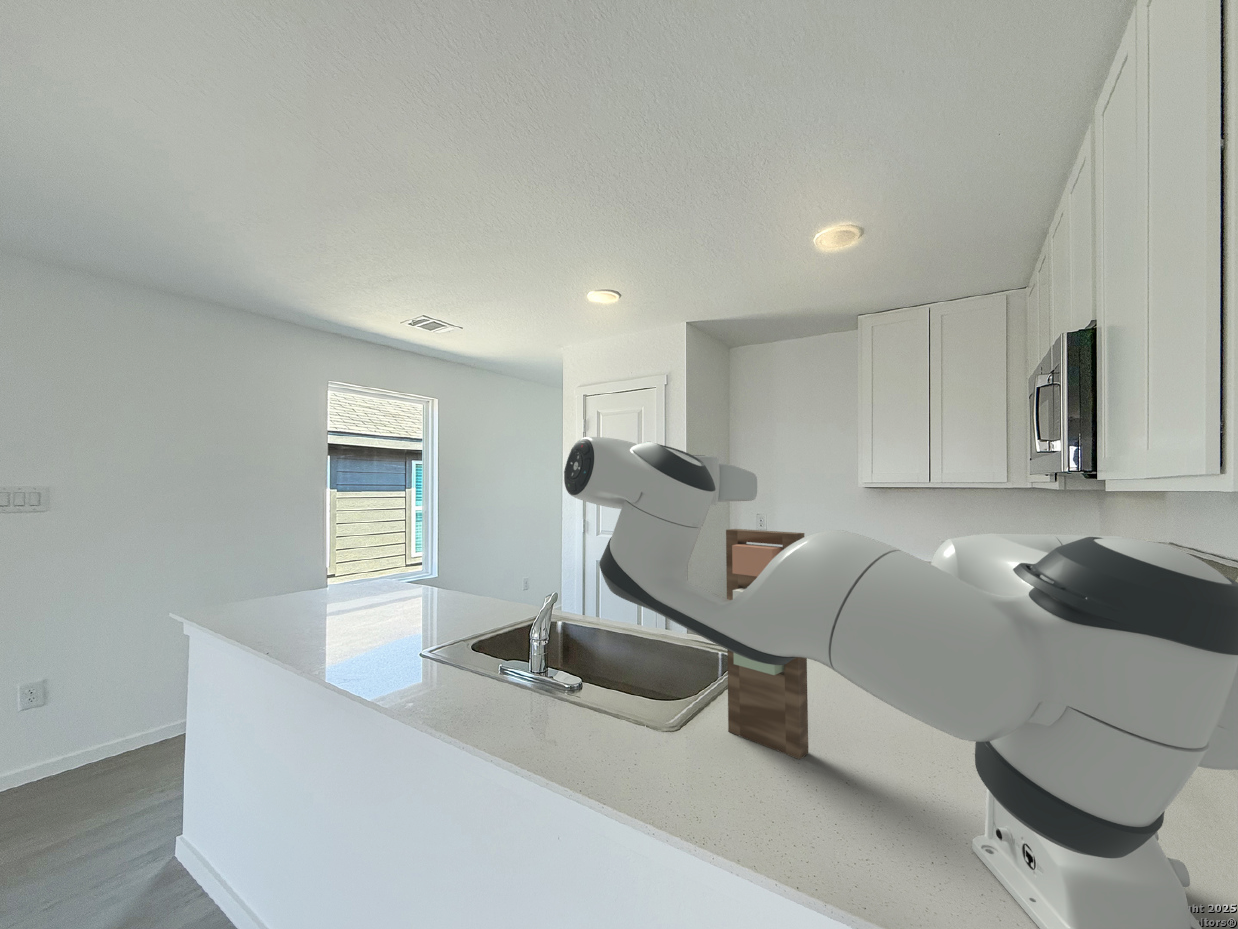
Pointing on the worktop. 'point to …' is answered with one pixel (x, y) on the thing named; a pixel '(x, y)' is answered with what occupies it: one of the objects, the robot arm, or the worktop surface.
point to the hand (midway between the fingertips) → (718, 493)
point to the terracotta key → (752, 558)
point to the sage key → (758, 665)
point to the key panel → (766, 675)
